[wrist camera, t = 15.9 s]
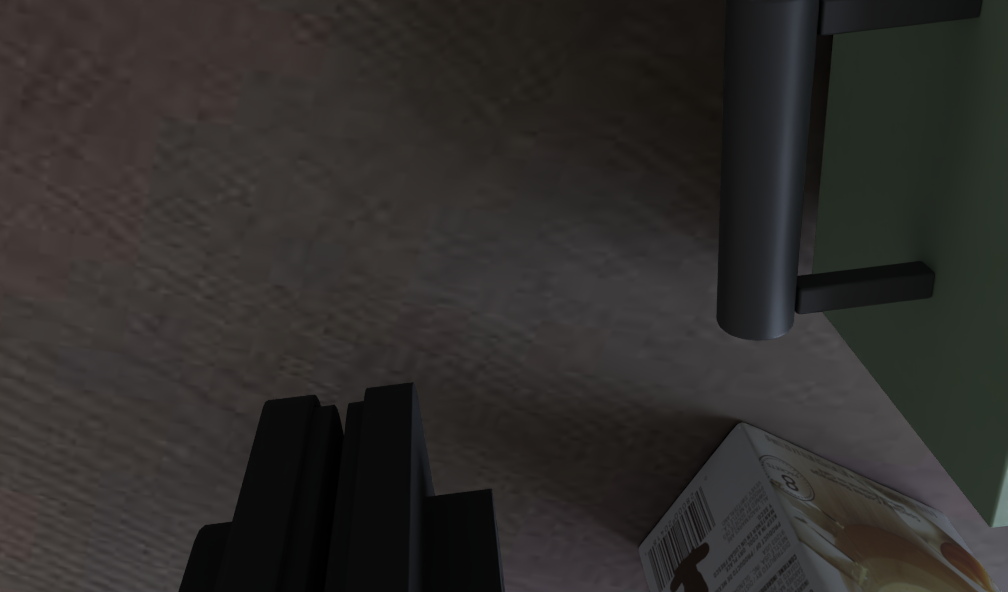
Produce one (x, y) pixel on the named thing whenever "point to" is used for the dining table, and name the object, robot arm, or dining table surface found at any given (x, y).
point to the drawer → (880, 206)
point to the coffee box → (801, 530)
